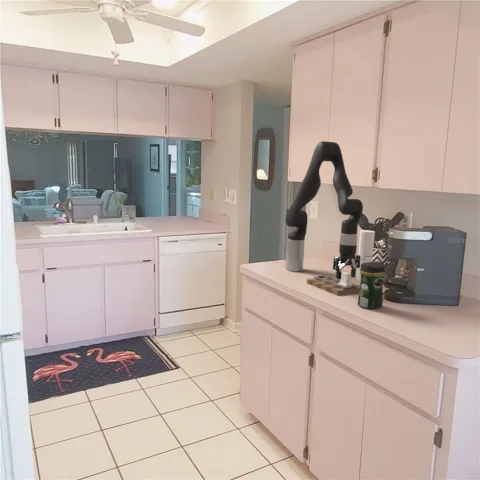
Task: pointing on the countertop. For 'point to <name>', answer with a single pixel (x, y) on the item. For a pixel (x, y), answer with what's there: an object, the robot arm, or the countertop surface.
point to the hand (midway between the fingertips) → (345, 278)
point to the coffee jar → (371, 285)
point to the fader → (345, 279)
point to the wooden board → (332, 285)
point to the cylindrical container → (365, 248)
